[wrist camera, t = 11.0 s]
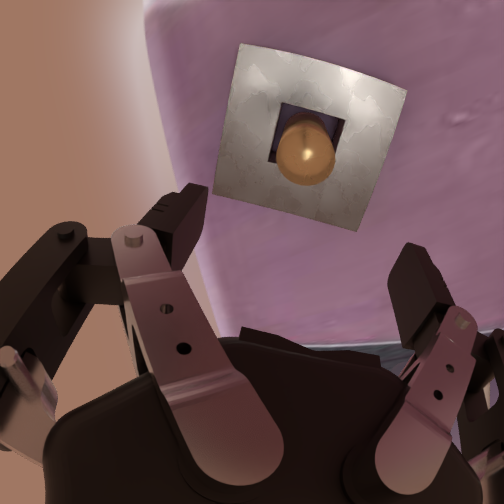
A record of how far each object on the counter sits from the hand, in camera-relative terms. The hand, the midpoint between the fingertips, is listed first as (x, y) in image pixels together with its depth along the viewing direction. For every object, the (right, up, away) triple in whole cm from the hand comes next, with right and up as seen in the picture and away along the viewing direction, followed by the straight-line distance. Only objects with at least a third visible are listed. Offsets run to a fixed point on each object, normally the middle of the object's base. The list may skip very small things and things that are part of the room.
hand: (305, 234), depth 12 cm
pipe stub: (+3, +10, +16) cm, 19 cm away
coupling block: (+3, +10, +16) cm, 19 cm away
